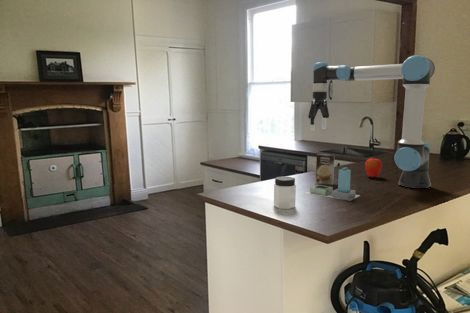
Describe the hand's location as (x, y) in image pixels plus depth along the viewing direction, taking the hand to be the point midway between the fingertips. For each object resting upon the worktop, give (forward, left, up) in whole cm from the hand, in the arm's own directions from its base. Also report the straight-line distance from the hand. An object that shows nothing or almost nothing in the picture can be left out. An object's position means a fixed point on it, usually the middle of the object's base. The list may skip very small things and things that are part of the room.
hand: (318, 130), depth 214 cm
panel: (-24, +33, -28) cm, 49 cm away
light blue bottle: (-30, +33, -27) cm, 52 cm away
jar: (-16, +62, -28) cm, 70 cm away
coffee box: (-10, +12, -28) cm, 32 cm away
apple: (-23, -24, -28) cm, 44 cm away
